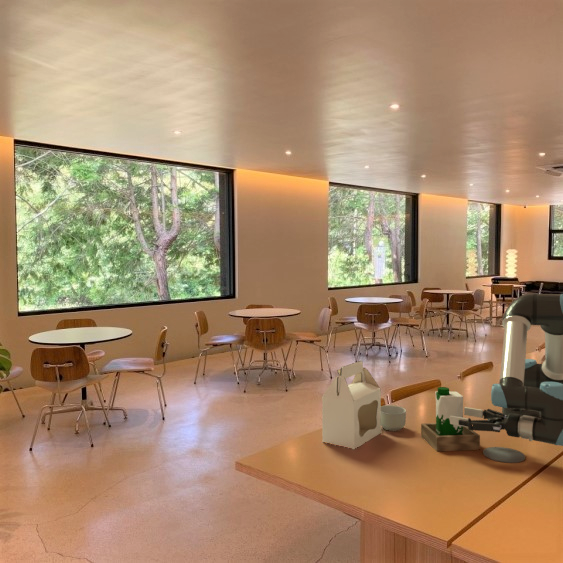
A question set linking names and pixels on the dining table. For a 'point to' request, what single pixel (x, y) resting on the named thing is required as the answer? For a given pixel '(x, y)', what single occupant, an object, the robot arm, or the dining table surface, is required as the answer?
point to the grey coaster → (504, 454)
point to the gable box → (351, 408)
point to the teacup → (393, 417)
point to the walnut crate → (450, 439)
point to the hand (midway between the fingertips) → (457, 415)
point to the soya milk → (448, 411)
